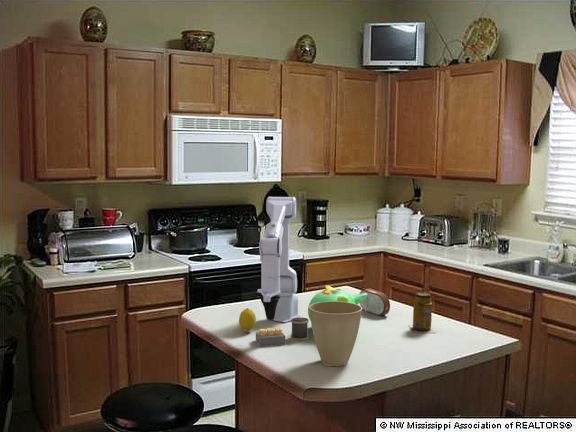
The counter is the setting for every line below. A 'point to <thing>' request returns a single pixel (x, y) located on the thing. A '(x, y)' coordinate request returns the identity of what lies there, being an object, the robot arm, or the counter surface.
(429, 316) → the condiment
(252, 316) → the lemon
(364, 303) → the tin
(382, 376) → the counter surface
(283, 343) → the breaker strip
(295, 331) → the cord spool
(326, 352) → the plant pot
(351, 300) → the green toy teapot
